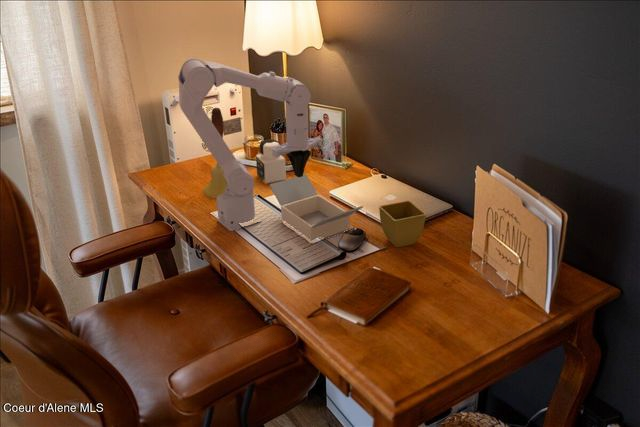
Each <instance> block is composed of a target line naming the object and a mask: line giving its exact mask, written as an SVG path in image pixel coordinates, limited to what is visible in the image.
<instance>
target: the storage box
mask: <svg viewBox="0 0 640 427" xmlns="http://www.w3.org/2000/svg"><path fill="white" fill-rule="evenodd" d="M346 211H347V210H344V209H343V208H341V207H340V206H338V205H336V204H334V203H333V202H332V201H330V200H328V199H326V198H325V197H323V196H322V195H320V194H317V195H315V196H312V197H308V198H305V199H302V200H299V201H295V202H292V203H289V204H286V205H282V206H280V214H281V220H282V219H283V220H284V221H286V222H287V223H288V224H290V225H291V226H293V227H294V228H295V229H296V230H298V231H299V232H301V233H302V234H304V235H305V236H306V237H308V239H310V240H311V241H312V240H314V239H316V238H317V237H324V238H327V239H329V238H328V237H330V238H332V237H331V236H333V237H335V236H334V235H336V236H338V235H337V234H339V235H341V234H343V233H342V232H344V231H346V230H348V229H349V230H350V216H351V215H349V216H346V217H343V218H341V219H338V220H335V221H332V222H329V223H326V224H323V225H320V226H317V227H314V228H312V226H313V225H315V224H317V223H318V222H320V221H321V220H323V219H325V218H328V217H331V216H334V215H337V214H340V213H343V212H346ZM340 233H341V234H340ZM344 233H345V232H344Z"/></svg>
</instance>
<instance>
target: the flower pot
mask: <svg viewBox="0 0 640 427" xmlns="http://www.w3.org/2000/svg"><path fill="white" fill-rule="evenodd" d="M378 208H379V209H378V210H379V219H380V225H381V228H382V231H383V234H384V235H385V237H386V238H387V240H388V241H389V242H390V243H391V244H392V245H393V246H394V247H395V248H403V247H407V246H411V245H414V244H416V242H418V240H419V239H420V238H421V236H422V234H423V231H424V228H425V226H424V225H425V222H426V217H427V213H426V212H425V211H423V210H422V209H420V207H418V205H416V204H414V203H413V201H411V200H404V201H399V202H398V201H397V202H393V203H392V202H391V203H388V204H384V205H379V206H378Z"/></svg>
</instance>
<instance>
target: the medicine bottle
mask: <svg viewBox="0 0 640 427" xmlns="http://www.w3.org/2000/svg"><path fill="white" fill-rule="evenodd" d="M278 146H280V141H278V140H275V139H265V140H262V141H260V143H259V151H260V152H259V154H256V155H255V163H256V173H257V174H256V176H257V177H258V178H259V179H260V180H261V181H262V182H263V184H265V185H266V184H273V183H277V182H280V181H284V180H287V172H286V171H287V168H286V167H287V166H286V158H285V157H284V155H280V157H277V158H276V157H274V156H273V155H272V148H276V147H278Z"/></svg>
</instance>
